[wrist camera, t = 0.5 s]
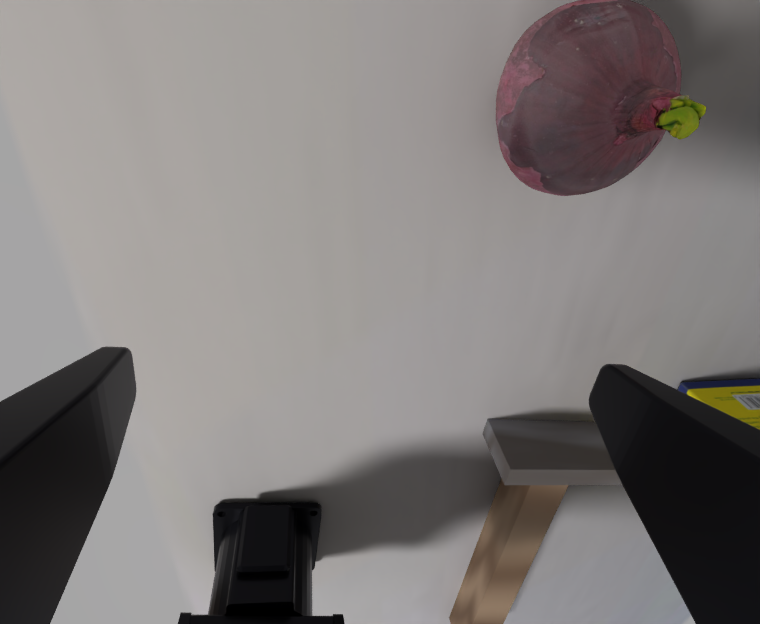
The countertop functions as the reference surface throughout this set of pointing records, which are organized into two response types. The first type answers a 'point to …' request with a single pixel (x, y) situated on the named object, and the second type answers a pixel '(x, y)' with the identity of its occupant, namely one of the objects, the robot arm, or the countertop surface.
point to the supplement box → (729, 397)
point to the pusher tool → (525, 505)
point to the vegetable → (590, 96)
